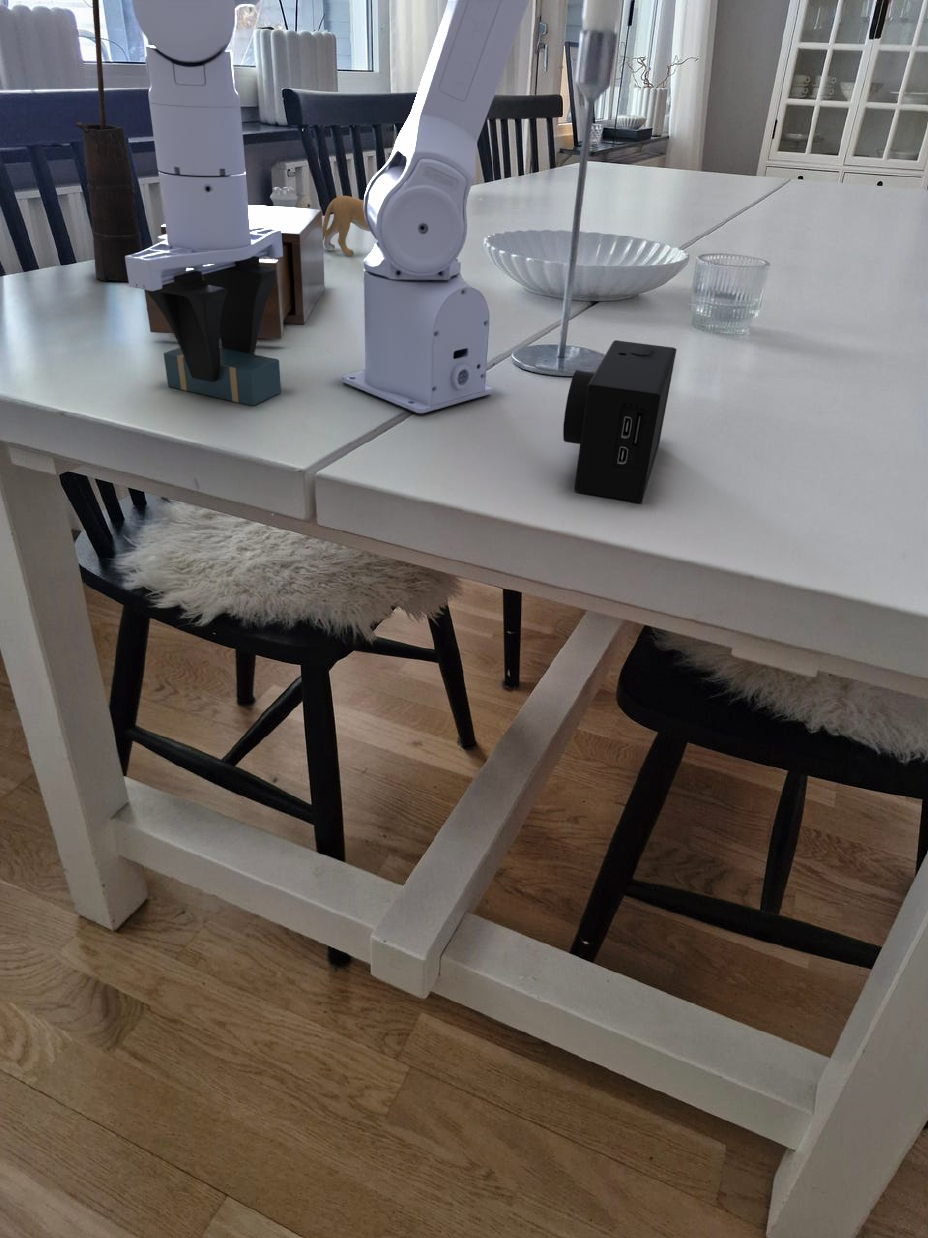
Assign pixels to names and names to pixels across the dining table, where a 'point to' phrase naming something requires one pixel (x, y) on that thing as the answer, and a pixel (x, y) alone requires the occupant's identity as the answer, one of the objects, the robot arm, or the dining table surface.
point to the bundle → (229, 376)
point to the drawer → (274, 308)
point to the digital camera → (619, 419)
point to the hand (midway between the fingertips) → (223, 371)
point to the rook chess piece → (283, 197)
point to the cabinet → (296, 252)
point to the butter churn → (109, 186)
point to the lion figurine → (343, 221)
